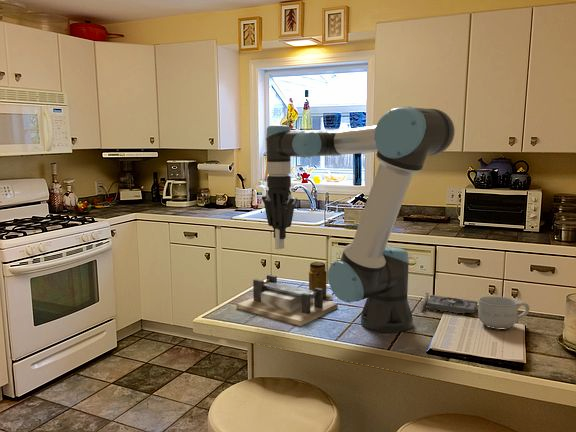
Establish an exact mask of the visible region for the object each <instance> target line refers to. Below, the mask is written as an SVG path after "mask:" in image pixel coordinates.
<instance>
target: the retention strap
mask: <svg viewBox="0 0 576 432" xmlns="http://www.w3.org/2000/svg"><path fill="white" fill-rule="evenodd" d="M263 281H264V288H267V289H271V290H275V291H279V292H283V293H287V294H291V295H295V296H299V297H302V293H307V294H310V299H311V298H313V297H316V296H318V295H319V293H318V292H317V291H316V292H314V291H310V290H309V289H307V290H305V289H306V288H303V289H301V288H302V287H298V288H297V286H294V287H293V285H288V284H285V283H280V282H277V283H276V282H272V281H271V280H270V279H268V280H267V279H266V280H263ZM284 284H285V285H284Z"/></svg>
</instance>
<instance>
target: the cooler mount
mask: <svg viewBox="0 0 576 432" xmlns="http://www.w3.org/2000/svg"><path fill="white" fill-rule="evenodd" d="M268 279H270V280H271V281H272V282H276V283H278V277H277V275H273V274H267V275H266V280H268ZM264 281H265V280H261V279H257V278H255V279H252V282H253V283H252V285H253V288H252V289H253V293H252V294H253V297H252V298H249V299H245V300H244V301H241V302H238V303H236V310H237V309H238V310H241V311H245V312H248V313H252V314H256V315H260V316H263V317H267V318H271V319H274V320H278V321H280V322H285V323H289V324H292V325H294V326H295V325H296V326H299V327H302V326H304V325H306V324H309V323H310V322H312V321H314V320H316V319H318V318H320V317H323V316H324V315H326V314H328V313H330V312H332V311H334V310H337V309H338V308H339V304H338V302H337V303H336V302H333V301H329V300H323V289H320V288H315V289H314V292H316V291H317V292H318V293H319V295H318V296H316V297H314V298H311V299H310V294H307V293H302V297H299V296H295V295H291V294H287V293H283V292H279V291H275V290H271V289H267V288H264ZM283 284H284V285H286V284H285V283H283ZM292 286H293V285H292ZM293 287H295V286H293ZM296 287H297V286H296ZM297 288H299V287H297ZM300 288H301V289H305V290H308V289H306V288H303V287H300ZM310 291H312V290H310Z"/></svg>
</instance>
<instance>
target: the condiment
mask: <svg viewBox="0 0 576 432" xmlns="http://www.w3.org/2000/svg"><path fill="white" fill-rule="evenodd" d="M309 267H310V268H309V271H308V290H312V291H314V289H315V288H320V289H323V300H324V301H329V300H331V301H332V300H333V293H327V275H328V272H327V271H326V264H325V262H321V261H313V262H310V263H309ZM313 298H314V297H313Z"/></svg>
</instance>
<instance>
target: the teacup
mask: <svg viewBox="0 0 576 432" xmlns="http://www.w3.org/2000/svg"><path fill="white" fill-rule="evenodd" d="M477 300H478V301H477V302H478V304H477V309H478V310H477V311H478V318H479V319H478V320H479V321H480V322H481V323H482V324H483V325H484V324H485V325H487V326H490V327H494V328H509V327H510V328H511V327H513V326H514V325H515V324H516V322H518V321H519V320H520V319H522V318H523V317H525V316H527V315H528V314H529V313H530V306H529V305H530V304H528V303H527V302H524V301H519V302H518V301H517V300H516V299H513V298H510V297H505V296H499V295H498V296H497V295H489V296H481V297H478V299H477ZM523 306H524V307H525V310H524V311H523V312H522V313H520V314H518V311H519V308H521V307H523ZM485 325H484V326H485ZM510 328H509V329H510Z"/></svg>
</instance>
